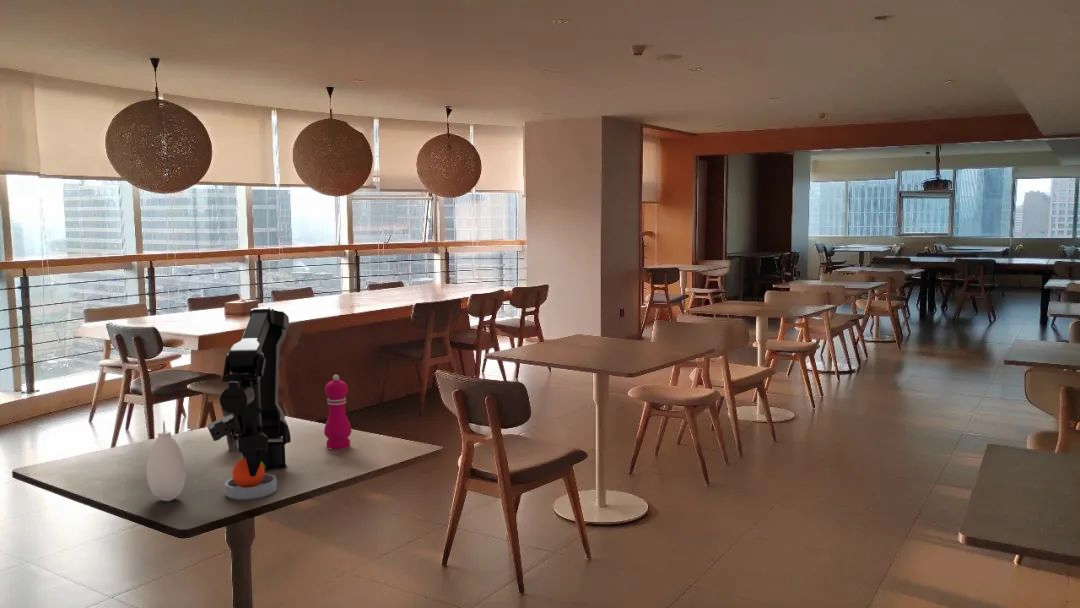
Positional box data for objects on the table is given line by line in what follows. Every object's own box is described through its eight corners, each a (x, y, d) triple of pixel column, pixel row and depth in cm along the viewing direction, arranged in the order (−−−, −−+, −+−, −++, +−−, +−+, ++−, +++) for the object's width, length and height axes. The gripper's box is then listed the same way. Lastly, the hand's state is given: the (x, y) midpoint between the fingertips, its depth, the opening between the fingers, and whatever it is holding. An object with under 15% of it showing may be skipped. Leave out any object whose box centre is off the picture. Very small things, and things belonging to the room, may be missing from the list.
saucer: (273, 481, 194) (272, 470, 194) (280, 495, 185) (279, 483, 184) (223, 488, 190) (223, 477, 189) (228, 502, 180) (227, 491, 180)
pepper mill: (339, 441, 229) (337, 371, 227) (357, 445, 225) (355, 373, 223) (319, 447, 224) (316, 375, 222) (336, 451, 219) (334, 378, 217)
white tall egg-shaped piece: (141, 502, 181) (136, 422, 179) (173, 492, 188) (168, 414, 186) (162, 508, 177) (158, 426, 175) (194, 497, 183) (190, 418, 182)
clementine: (275, 484, 189) (273, 453, 189) (259, 493, 183) (257, 462, 182) (243, 482, 191) (242, 452, 190) (226, 491, 184) (225, 460, 184)
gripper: (205, 399, 190) (209, 465, 191) (212, 415, 173) (215, 487, 175) (256, 394, 195) (259, 458, 196) (267, 410, 178) (270, 480, 180)
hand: (250, 470), depth 187 cm, fingers open, 9 cm apart
